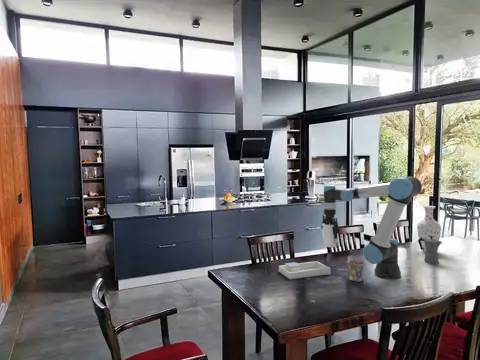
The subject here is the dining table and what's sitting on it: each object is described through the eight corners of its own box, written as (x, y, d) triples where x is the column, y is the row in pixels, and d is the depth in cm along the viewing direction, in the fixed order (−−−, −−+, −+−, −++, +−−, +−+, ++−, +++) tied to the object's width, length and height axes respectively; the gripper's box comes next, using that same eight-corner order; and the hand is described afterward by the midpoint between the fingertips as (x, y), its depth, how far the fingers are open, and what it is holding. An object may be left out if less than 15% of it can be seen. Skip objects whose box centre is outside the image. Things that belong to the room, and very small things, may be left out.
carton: (300, 275, 215) (300, 266, 215) (290, 276, 213) (290, 267, 213) (295, 271, 222) (295, 263, 221) (285, 273, 220) (285, 264, 219)
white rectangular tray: (330, 275, 216) (330, 268, 216) (289, 280, 208) (289, 273, 208) (317, 267, 232) (317, 261, 231) (278, 272, 223) (278, 265, 223)
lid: (301, 266, 215) (301, 265, 215) (289, 267, 212) (289, 266, 212) (295, 263, 222) (295, 262, 222) (284, 264, 219) (284, 263, 219)
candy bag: (368, 280, 205) (368, 263, 204) (356, 283, 200) (356, 265, 200) (352, 275, 215) (352, 258, 215) (341, 278, 211) (341, 260, 210)
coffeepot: (444, 262, 239) (444, 236, 238) (439, 265, 233) (439, 238, 232) (420, 257, 250) (420, 233, 249) (415, 260, 244) (415, 235, 243)
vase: (441, 250, 270) (441, 205, 268) (440, 255, 257) (440, 208, 255) (418, 247, 279) (418, 204, 277) (416, 252, 265) (416, 207, 263)
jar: (338, 248, 224) (338, 225, 223) (322, 247, 226) (322, 225, 225) (337, 244, 234) (337, 222, 234) (321, 244, 237) (321, 222, 236)
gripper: (315, 207, 239) (316, 238, 240) (334, 211, 217) (334, 246, 218) (325, 206, 241) (325, 237, 242) (344, 210, 219) (345, 244, 220)
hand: (330, 241), depth 230 cm, fingers closed on jar, 10 cm apart
